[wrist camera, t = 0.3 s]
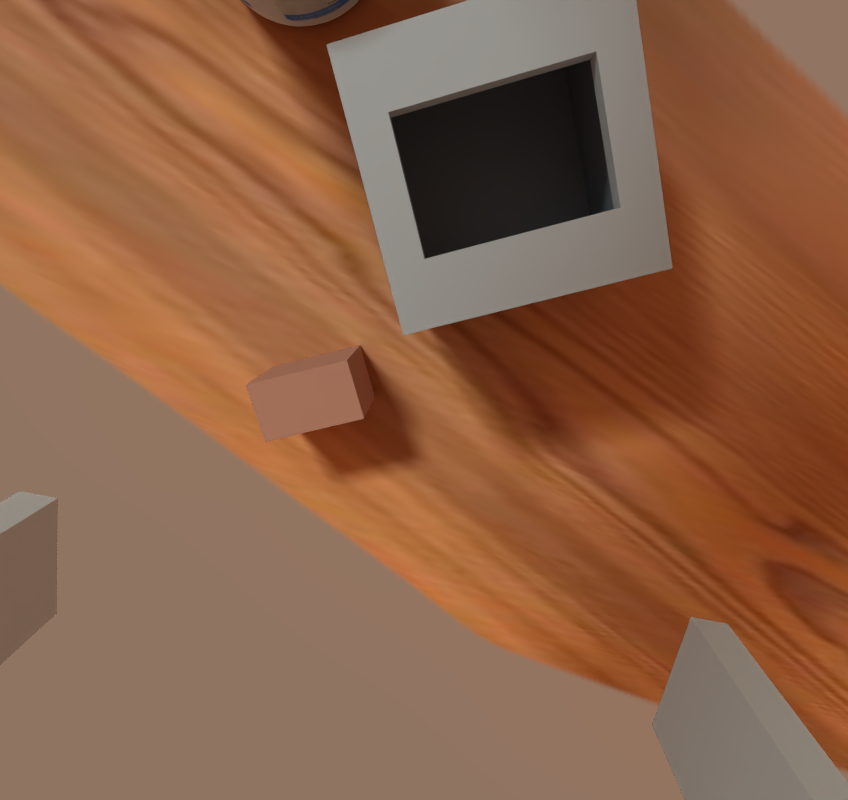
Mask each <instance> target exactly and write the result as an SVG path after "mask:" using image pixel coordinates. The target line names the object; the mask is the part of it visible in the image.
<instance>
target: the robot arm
mask: <svg viewBox="0 0 848 800" xmlns="http://www.w3.org/2000/svg"><path fill="white" fill-rule="evenodd" d="M57 514H58V499H57V498H53V497H48V496H42V495H37V494H32V493H27V492H18V493H17V494H15V495H13V496H11V497H9V498H7V499H6V500H4V501H2V502H0V665H1V664H2V663H3V662H4V661H5V660H6V659H7V658H8V657H9V656H11V655H12V654H13V653H14V652H15V651H16V650H17V649H18V648H19V647H20V646H21V645H23V644H24V643H25V642H26V641H27V640H28V639H29V638H30V637H31V636H32V635H34V634H35V633H36V632H37V631H38V630H39V629H40V628H41V627H42V626H43V625H44V624H46V623H47V622H48V621H49V620H50V619H51V618H52V617H53V616H54V615H55V614H56V613H57V610H56V609H57ZM652 725H653V727H654V730H655V732H656V734H657V737H658V739H659V741H660V743H661V746H662V748H663V750H664V753H665V755H666V757H667V760H668V762H669V764H670V766H671V769H672V771H673V774H674V776H675V778H676V781H677V783H678V785H679V787H680V790H681V792H682V794H683V797H684V799H685V800H848V782H847V781H846V780H845V778H844V777H843V776H842V774H841V773H840V772H839V770H838V769H837V768H836V766H835V765H834V764H833V762H832V761H831V760H830V758H829V757H828V756H827V754H826V753H825V752H824V750H823V749H822V748H821V746H820V745H819V744H818V743H817V741H816V740H815V739H814V737H813V736H812V735H811V733H810V732H809V731H808V729H807V728H806V727H805V725H804V724H803V723H802V721H801V720H800V719H799V717H798V716H797V715H796V713H795V712H794V711H793V709H792V708H791V707H790V705H789V704H788V703H787V702H786V700H785V699H784V698H783V696H782V695H781V694H780V692H779V691H778V690H777V688H776V687H775V686H774V684H773V683H772V682H771V680H770V679H769V678H768V676H767V675H766V674H765V672H764V671H763V670H762V668H761V667H760V666H759V664H758V663H757V662H756V660H755V659H754V658H753V657H752V655H751V654H750V653H749V651H748V650H747V649H746V647H745V646H744V645H743V643H742V642H741V641H740V639H739V638H738V637H737V635H736V634H735V633H734V631H733V630H732V629H731V627H730V626H729V625H728V624H727V623H721V622H716V621H710V620H705V619H700V618H694V617H691V618H690V621H689V624H688V626H687V629H686V632H685V635H684V638H683V640H682V643H681V646H680V649H679V651H678V654H677V657H676V660H675V663H674V665H673V668H672V671H671V674H670V677H669V679H668V682H667V685H666V688H665V690H664V693H663V696H662V699H661V702H660V704H659V707H658V710H657V713H656V716H655V718H654V721H653V724H652Z"/></svg>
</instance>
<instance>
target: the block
mask: <svg viewBox="0 0 848 800" xmlns="http://www.w3.org/2000/svg"><path fill="white" fill-rule="evenodd" d="M246 387H247V390H248V393H249V396H250V399H251V402H252V405H253V408H254V410H255V413H256V416H257V419H258V422H259V425H260V428H261V431H262V434H263V436H264V439H265V442H267V441H271V440H276V439H280V438H284V437H288V436H293V435H297V434H301V433H305V432H310V431H314V430H318V429H322V428H327V427H331V426H335V425H340V424H344V423H348V422H352V421H357V420H361V419H364V418H365V416H366V414H367V412H368V410H369V408H370V406H371V403H372V401H373V399H374V397H375V395H374V392H373V388H372V385H371V381H370V378H369V374H368V371H367V367H366V364H365V360H364V357H363V353H362V350H361V346H360V345H359V346H355V347H351V348H347V349H343V350H339V351H335V352H331V353H327V354H323V355H319V356H315V357H311V358H307V359H303V360H299V361H295V362H291V363H287V364H283V365H279V366H275V367H272V368H270V369H269V370H267V371H266V372H264V373H263V374H261V375H260V376H258V377H257V378H255V379H254V380H253V381H251V382H250V383H248V384H247V385H246Z"/></svg>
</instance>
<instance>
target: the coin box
mask: <svg viewBox="0 0 848 800" xmlns="http://www.w3.org/2000/svg"><path fill="white" fill-rule="evenodd" d="M326 45H327V49H328V53H329V56H330V60H331V64H332V68H333V71H334V75H335V79H336V83H337V87H338V90H339V94H340V98H341V102H342V105H343V109H344V113H345V117H346V121H347V124H348V128H349V132H350V136H351V139H352V143H353V147H354V151H355V155H356V158H357V162H358V166H359V170H360V173H361V177H362V181H363V185H364V189H365V192H366V196H367V200H368V204H369V207H370V211H371V215H372V219H373V223H374V226H375V230H376V234H377V238H378V241H379V245H380V249H381V253H382V257H383V260H384V264H385V268H386V272H387V275H388V279H389V283H390V287H391V291H392V294H393V298H394V302H395V306H396V309H397V313H398V317H399V321H400V325H401V328H402V332H403V335H406V334H410V333H414V332H418V331H422V330H426V329H430V328H434V327H438V326H442V325H446V324H451V323H455V322H459V321H463V320H467V319H471V318H475V317H479V316H483V315H487V314H491V313H495V312H499V311H503V310H507V309H511V308H515V307H519V306H523V305H527V304H531V303H535V302H539V301H543V300H547V299H551V298H555V297H559V296H563V295H567V294H571V293H575V292H579V291H583V290H587V289H591V288H595V287H599V286H604V285H608V284H612V283H616V282H620V281H624V280H628V279H632V278H636V277H640V276H644V275H648V274H652V273H656V272H660V271H664V270H668V269H672V268H673V267H672V260H671V252H670V245H669V238H668V230H667V223H666V215H665V208H664V201H663V193H662V186H661V179H660V171H659V164H658V156H657V149H656V142H655V134H654V127H653V120H652V112H651V105H650V98H649V90H648V83H647V75H646V68H645V61H644V53H643V46H642V39H641V31H640V24H639V16H638V9H637V2H636V0H468V1H464V2H461V3H458V4H455V5H451V6H448V7H445V8H442V9H439V10H435V11H432V12H429V13H426V14H422V15H419V16H416V17H413V18H410V19H406V20H403V21H400V22H397V23H393V24H390V25H387V26H384V27H380V28H377V29H374V30H371V31H368V32H364V33H361V34H358V35H355V36H351V37H348V38H345V39H342V40H339V41H335V42H332V43H329V44H326Z"/></svg>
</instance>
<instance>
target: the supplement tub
mask: <svg viewBox="0 0 848 800" xmlns="http://www.w3.org/2000/svg"><path fill="white" fill-rule="evenodd" d="M242 1H243V2H244V3H245V4H246V5H247V6H248V7H249V8H251V9H252V10H253V11H255V12H256V13H258V14H259V15H261V16H263V17H265V18H266V19H269V20H271V21H274V22H276V23H280V24H283V25H288V26H312V25H317V24H321V23H325V22H328V21H331V20H333V19H335V18H337V17H339V16H341V15H342V14H344V13H346V12H347V11H348V10H350V9H351V8H352V7H353V6H354V5H355V4H356V3H357V2H358V1H359V0H242Z"/></svg>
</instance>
